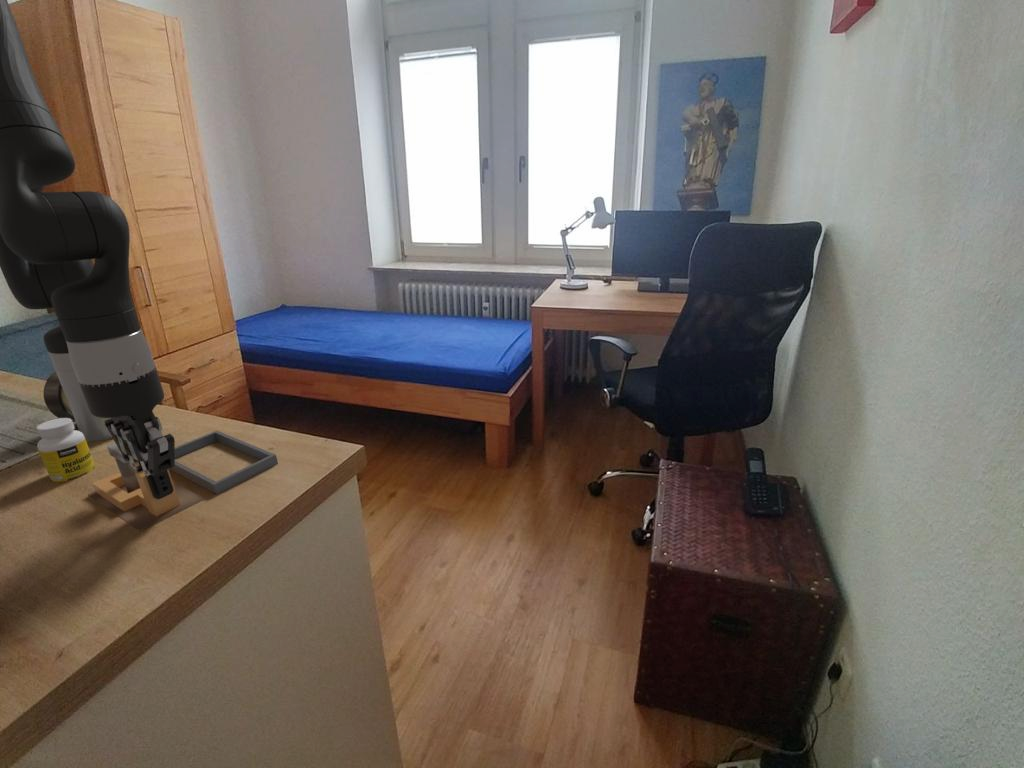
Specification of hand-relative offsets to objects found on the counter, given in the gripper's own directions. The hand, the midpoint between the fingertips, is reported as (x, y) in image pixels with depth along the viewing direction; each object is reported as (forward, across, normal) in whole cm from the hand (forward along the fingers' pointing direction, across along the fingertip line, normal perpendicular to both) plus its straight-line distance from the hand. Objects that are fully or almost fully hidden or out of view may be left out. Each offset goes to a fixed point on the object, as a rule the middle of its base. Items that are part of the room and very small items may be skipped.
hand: (159, 492), depth 66 cm
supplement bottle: (+4, -23, -2) cm, 24 cm away
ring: (+3, -6, 0) cm, 7 cm away
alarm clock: (+4, -45, +8) cm, 46 cm away
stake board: (+4, -6, 0) cm, 7 cm away
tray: (+4, -6, +10) cm, 12 cm away
